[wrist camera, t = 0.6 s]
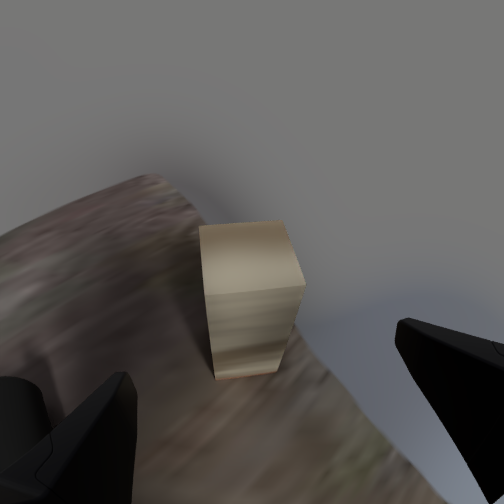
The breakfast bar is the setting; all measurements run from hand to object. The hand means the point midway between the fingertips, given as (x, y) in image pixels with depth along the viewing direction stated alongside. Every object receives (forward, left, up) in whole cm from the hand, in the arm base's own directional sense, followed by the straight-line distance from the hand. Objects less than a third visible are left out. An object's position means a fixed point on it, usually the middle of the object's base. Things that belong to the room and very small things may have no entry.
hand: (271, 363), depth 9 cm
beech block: (+7, -1, -15) cm, 16 cm away
